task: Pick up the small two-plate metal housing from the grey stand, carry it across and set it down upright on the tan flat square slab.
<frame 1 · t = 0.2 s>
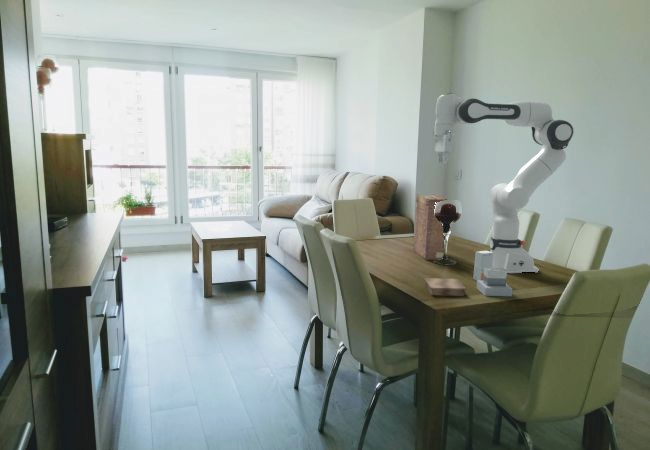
hand: (442, 162, 210), 48 cm above the table, tool pointing down, fingers open, 8 cm apart
tan flat square slab: (443, 290, 180), on the table
housing: (494, 284, 180), point 3 cm above the table, touching grey stand
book: (427, 254, 244), on the table
skincare box: (482, 280, 197), on the table
grey stand: (493, 291, 180), on the table
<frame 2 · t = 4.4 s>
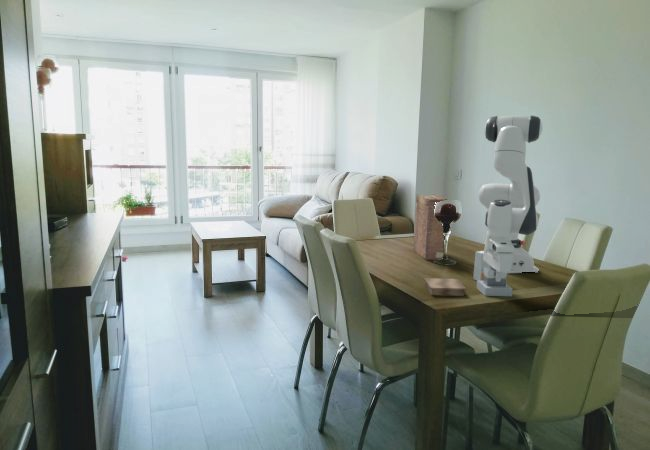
hand: (494, 278, 179), 5 cm above the table, tool pointing down, fingers closed on housing, 4 cm apart
housing: (494, 284, 180), point 3 cm above the table, touching grey stand, gripper
everything else where it was.
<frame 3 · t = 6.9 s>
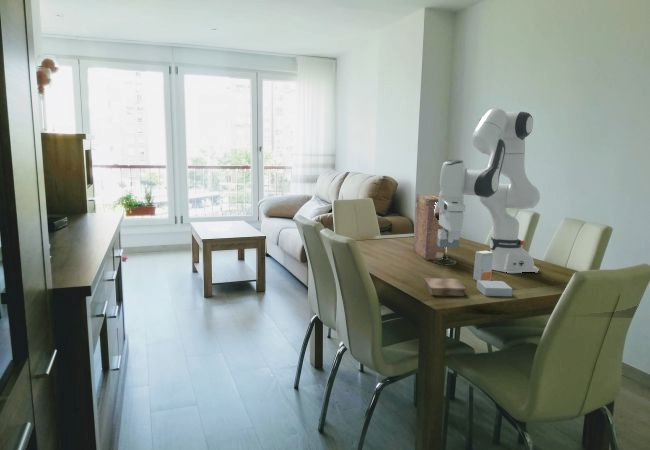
hand: (448, 240, 177), 20 cm above the table, tool pointing down, fingers closed on housing, 4 cm apart
housing: (447, 246, 177), point 17 cm above the table, touching gripper
everything else where it was.
when the fingers open (7 cm above the table, at t = 9.7 s): housing drops 1 cm, resting on tan flat square slab.
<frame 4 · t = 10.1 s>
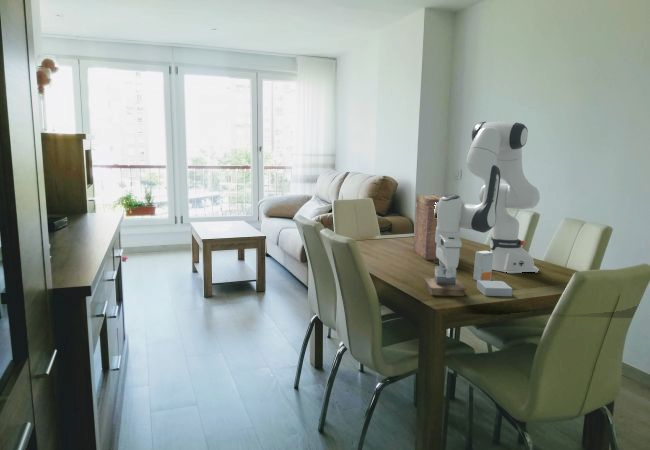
hand: (445, 274, 179), 7 cm above the table, tool pointing down, fingers open, 8 cm apart
housing: (444, 283, 180), point 3 cm above the table, touching tan flat square slab
everything else where it was.
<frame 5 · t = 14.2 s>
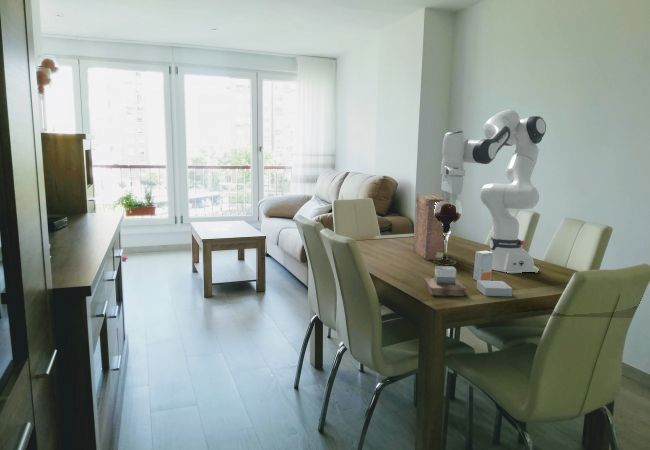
hand: (449, 203, 198), 31 cm above the table, tool pointing down, fingers open, 8 cm apart
nothing on the table moved.
at the end: housing inside the target area on the tan flat square slab (0.1 cm from its centre), point 3.0 cm above the tan flat square slab's base; housing tilted 0°; the gripper is holding nothing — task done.
